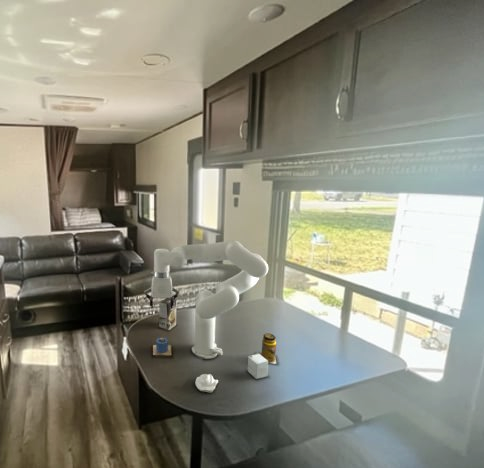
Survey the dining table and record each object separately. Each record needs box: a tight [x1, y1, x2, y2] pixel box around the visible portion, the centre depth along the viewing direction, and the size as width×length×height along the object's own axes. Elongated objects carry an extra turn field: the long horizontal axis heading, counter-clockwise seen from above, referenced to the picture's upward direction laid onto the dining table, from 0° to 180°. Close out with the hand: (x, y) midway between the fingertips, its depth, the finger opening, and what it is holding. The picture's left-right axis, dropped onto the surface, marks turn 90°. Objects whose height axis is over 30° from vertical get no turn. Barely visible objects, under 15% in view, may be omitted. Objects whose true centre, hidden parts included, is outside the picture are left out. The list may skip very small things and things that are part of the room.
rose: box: [194, 373, 219, 393], centre depth 124 cm, size 10×4×10 cm
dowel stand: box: [152, 337, 172, 356], centre depth 148 cm, size 9×9×7 cm
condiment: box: [255, 332, 277, 365], centre depth 141 cm, size 7×8×12 cm
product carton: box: [247, 353, 269, 380], centre depth 131 cm, size 6×6×7 cm
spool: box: [155, 337, 169, 353], centre depth 148 cm, size 6×6×5 cm
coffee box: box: [158, 298, 177, 331], centre depth 174 cm, size 9×6×16 cm
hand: (161, 307), depth 148 cm, fingers open, 9 cm apart
